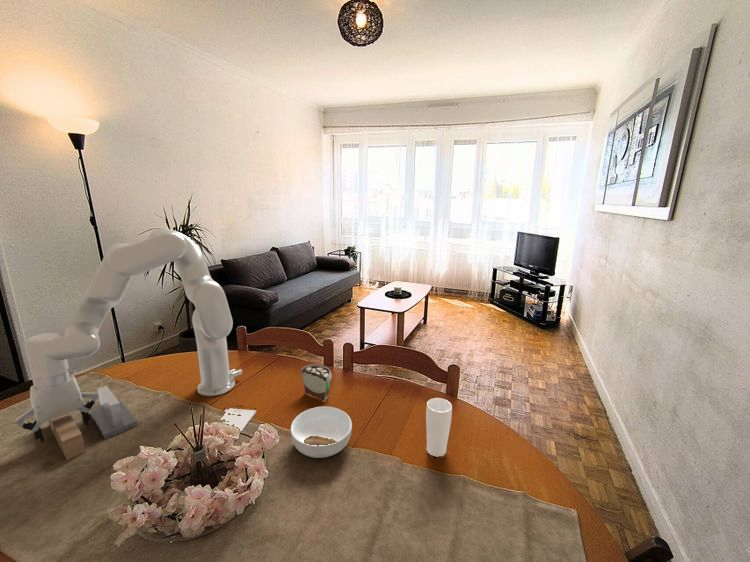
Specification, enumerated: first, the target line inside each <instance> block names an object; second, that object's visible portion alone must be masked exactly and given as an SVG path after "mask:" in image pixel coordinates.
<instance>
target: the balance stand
mask: <svg viewBox="0 0 750 562" xmlns="http://www.w3.org/2000/svg"><path fill="white" fill-rule="evenodd" d="M96 390H97V394H98V399H99V404H100V405H98V406H95V407H94V406H93V408H92V407H91V409H90V411H89V413H90V414H89V416H90V418H91V419H92V418H93V419H92V420H93V422H94V421H95V422H94V424H95V425H96V427H97V428H98V430H99V432H100V433H101V435H102V436H103V438H104V439H105V440H107V439H109V438H111V437H114V436H115V434H116V435H119V434H121V433H123V432H125V430H126V431H128V430H130V429H133V428H134V426H135V427H137V426H138V422H137V420H136V419H135V417H134V416H133V415H132V413H131V412H130V411H129V410H128V408H127V407H126V406H125V405H124V403H123V402H122V401H121V400H120V398H117V397H116V395H115V394H114V393H113V392H112V391H111V389H110V388H109V387H108V386H107V385H104V386H101V387H98V388H97V389H96ZM132 427H133V428H132ZM127 429H128V430H127ZM120 432H121V433H120ZM118 433H119V434H118ZM113 435H114V436H113ZM106 438H107V439H106Z"/></svg>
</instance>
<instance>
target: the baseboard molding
mask: <svg viewBox="0 0 750 562" xmlns="http://www.w3.org/2000/svg"><path fill="white" fill-rule="evenodd" d="M231 407H232V408H231ZM231 407H230V408H229V409H227V408H225V409H224V411H225V412H226V413H225V414H224V416H223V417H222V418H221V420H223V419H225V421H226V422H223V423H226V424H229V425H233V424H234V426H235V427H238V428H239V429H240V431H241V434H242V433H243V432H244V430H245V429H246V428H245V426H246V425H247V423H248V422H249V421H250V420H251V421H252V419H253V418H254V417H255V415H256V413H257V408H256V407H255V408H254V410H253V409H246V408H247V407H244V405H238V404H236V407H238V408H235V406H234V405H233V406H232V405H231ZM233 407H234V408H233ZM239 408H240V409H239ZM242 408H243V409H242ZM244 408H245V409H244ZM228 413H230V414H231V415H228ZM232 414H235V415H232ZM239 414H240V415H241V416H237V415H239ZM227 421H229V422H227ZM251 421H250V422H251ZM250 422H249V423H250ZM249 423H248V424H249ZM247 426H248V425H247ZM247 426H246V427H247ZM244 428H245V429H244ZM242 431H243V432H242Z"/></svg>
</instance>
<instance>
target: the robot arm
mask: <svg viewBox="0 0 750 562" xmlns="http://www.w3.org/2000/svg"><path fill="white" fill-rule="evenodd" d="M173 262H174V263H175V266H176V268H177V271H178V274H179V277H180V278H181V279H180V280H181V283H182V286H183V289H184V293H185V296H186V298H187V299H188V300H189V301H190V302H191V303H192V304H193V305H194V308H195V309H194V311H193V313H192V317H191V321H192V322H191V323H192V327H193V332H194V337H195V342H196V348H197V355H198V356H197V357H198V364H199V374H200V382H199V384H198V385H197V387H196V389H197V393H198V394H199V395H201V396H205V397H214V396H215V397H216V396H219V395H222V394H225V393H227V392H229V391H231V390H232V389H234V386H235V385H236V380H235V378H236V377H237V376H240V375H242V374H244V373H243V370H242V369H236V368H233V369H231V370H230V364H229V356H228V355H229V354H228V342H227V337H228V336H229V335H230V333H231V331H232V330H233V324H234V322H233V321H234V320H233V317H232V314H231V312H232V311H230V310H231V309H230V307H229V303H228V299H227V296H226V293H225V291H224V289H223V287H222V286H221V284H219V283H218V282H217V281H215V280H214V279H213V278H212V276H211V274H210V271H209V267H208V266H207V265H208V264H207V263H206V260H205V257H204V255H203V251H201V249H200V248H199V246H198V245H197V244H196V243H195V242H194V241H193V240H192V239H191V238H190V237H189V236H187V235H185V234H183V233H182V232H180V231H177V230H174V229H171V228H165V227H164V228H163V227H161V228H156V229H154V230H152V231H151V232H150V234H149V235H148V238H146V239H144V240H140V241H137V242H134V243H132V244H131V243H130V244H129V243H122V242H119V243H116V244H113V245H112V246H111V247H109V248H108V249H107V251H106V252H105V255H104V257H103V258H102V260H101V262H100V263H99V264H100V265H98V268H97V270H96V272H95V274H94V276H93V278H92V280H91V282H90V284H89V286H88V287H87V290H86V291H85V293H84V295H83V296H82V299H81V300H80V302H79V304H78V305H77V307H76V309H75V311H74V313H73V314H72V316H71V319H70V321H69V322H68V325H67V327H66V329H65V331H64V335H61V334H60V333H57V332H46V333H40V334H35V335H34V336H31V337H29V338H27V339H26V340H25V341H24V350H25V355H26V359H27V363H28V367H29V372H30V376H31V380H32V383H33V385H31V386H30V388H29V397H30V398H29V399H30V403H31V404H30V405H31V408H29V409H28V410H26V412H24V413H22V414H21V415H19V416H18V417H17V418H16V419H15V420H14V422H15V424H16V425H18V426H19V427H21V428H22V429H23V430H27V431H32V432H33V433H34V438H35V441H38V440H39V441H40V444H43V443H44V442H45V439H44V434H43V432H42V431H43V430H42V428H41V427H42V425H43V424H44V422H48V420H51V419H54V418H57V417H60V416H63V415H66V414H68V413H69V414H71V413H74V412H76V411H80V415H81V419H82V422H83V424H84V426H89V421H91V415H90V414H89V411H90V409H92V407H94V405H95V404H96V400H97V398H98V397H99V395H98V392H90V391H89V392H87V391H81V389H80V386H79V384H78V381H77V379H76V376H74V373H76V372H77V373H78V370H77V367H75V366H74V367H69V361H68V360H74V359H84V358H88V357H90V356H93V355H94V354H96V352H97V351H98V350H99V349H100V347H101V340H100V337H99V331H100V329H101V327H102V325H103V323H104V321H105V319H106V317H107V315H108V314H109V313H110V311H111V309H112V308H114V307H115V306H117V305H118V304H120V303H121V302H122V300H123V299H124V297H125V295H126V293H127V291H128V289H129V287H130V285H131V283H132V281H133V279H134V277H136V276H139V275H142V274H145V273H147V272H150V271H152V270H153V271H154V270H155V269H159V268H160V267H163V266H165V265H167V264H170V263H173ZM83 398H84V399H85V398H86V399H89V400H88V401H87V402H86V403H84V400H83ZM31 416H33V417H34V418H35V419H34V420H33V421H32V422H29V421H26V420H28V419H29V418H30V417H31Z"/></svg>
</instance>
